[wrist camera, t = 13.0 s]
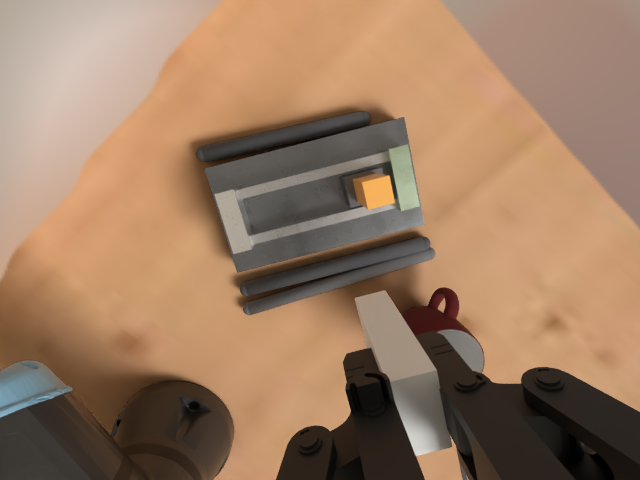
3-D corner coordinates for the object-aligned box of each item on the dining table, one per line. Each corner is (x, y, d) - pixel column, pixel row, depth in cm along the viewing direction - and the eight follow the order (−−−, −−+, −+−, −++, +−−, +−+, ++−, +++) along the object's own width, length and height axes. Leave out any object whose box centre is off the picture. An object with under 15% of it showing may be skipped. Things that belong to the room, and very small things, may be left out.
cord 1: (201, 163, 40) (196, 163, 38) (197, 148, 40) (192, 147, 38) (370, 126, 40) (373, 125, 38) (367, 110, 40) (370, 108, 38)
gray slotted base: (241, 265, 43) (232, 281, 37) (211, 168, 40) (195, 169, 34) (416, 220, 43) (433, 229, 37) (396, 120, 40) (412, 112, 34)
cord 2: (246, 313, 44) (244, 318, 43) (242, 302, 44) (240, 307, 42) (433, 255, 44) (438, 259, 42) (430, 244, 43) (435, 246, 42)
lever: (348, 205, 39) (360, 216, 30) (341, 176, 38) (351, 180, 30) (383, 196, 38) (404, 204, 30) (377, 167, 38) (397, 168, 30)
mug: (396, 269, 44) (423, 300, 34) (457, 279, 45) (500, 311, 35) (379, 345, 46) (399, 394, 36) (438, 353, 47) (473, 403, 37)
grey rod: (243, 294, 44) (240, 299, 42) (239, 281, 43) (236, 286, 42) (428, 247, 44) (433, 250, 42) (425, 233, 43) (431, 236, 41)
